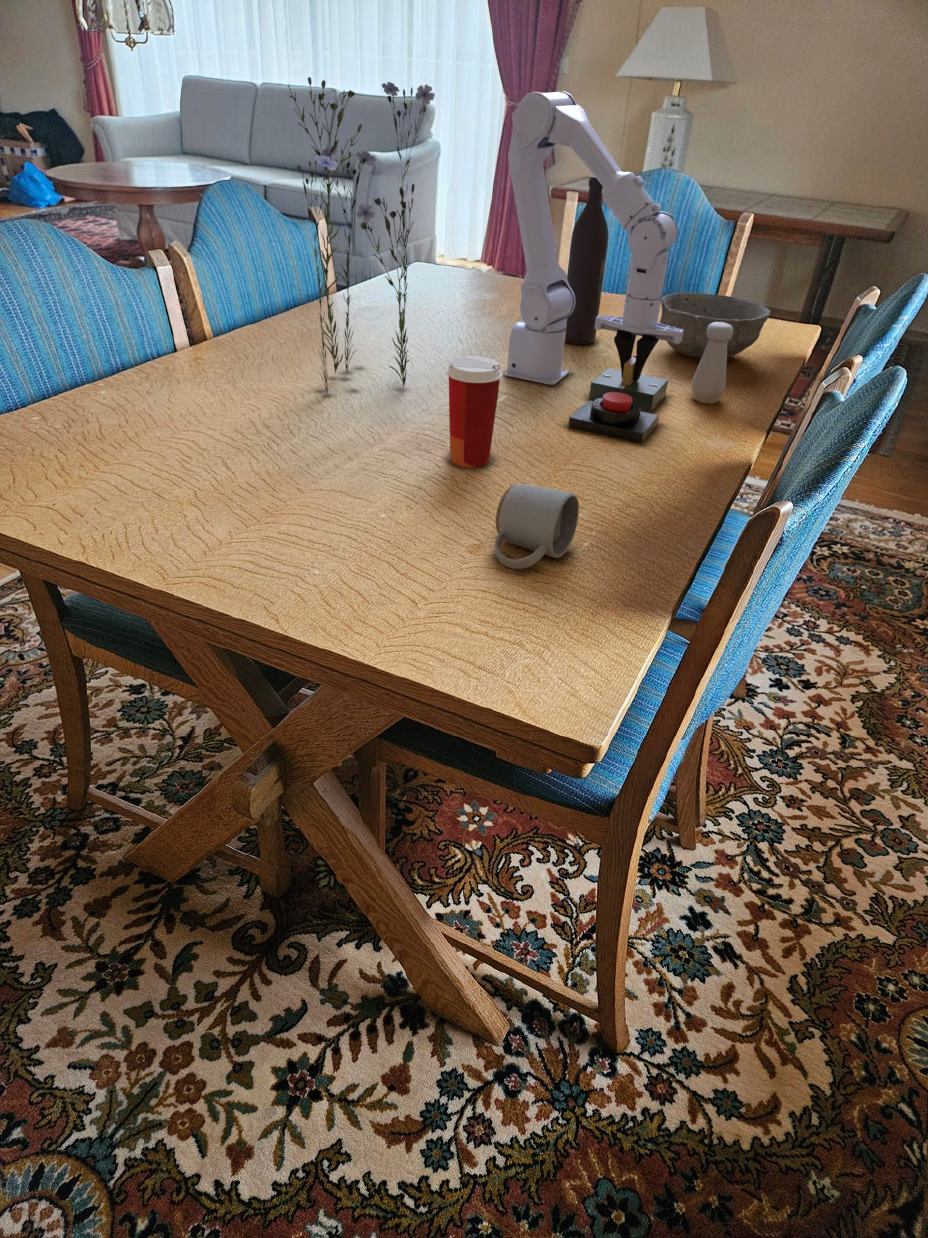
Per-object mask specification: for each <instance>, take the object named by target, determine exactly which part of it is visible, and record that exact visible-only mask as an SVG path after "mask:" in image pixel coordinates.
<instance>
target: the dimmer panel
mask: <svg viewBox="0 0 928 1238" xmlns="http://www.w3.org/2000/svg"><path fill="white" fill-rule="evenodd" d="M668 384H669V380H668V379H665V378H660V377H655V376H650V375H646V374H641V375H640V378H639V379H638V380H637V381H634V382H633V383H632V384H631V385H630V386H627V385H622V378H621V369H616V368H615V369H614V368H610V367H607V368H606V369H605V370H604V371H602V373H600V374H599V375H598V376H596V378H594V379H593V380H592V381H591V382H590V386H589V387H590V388H589V397H588V400H589V401H594V400H595V399H598V398H603V395H604V394H605V393H609V392H619V393H624V394H627V395H629V396H631V397H632V401H633V402H635V403H638V404H639V406H640V407H641V411H642V412H646V413H652V411H654V409H656V407H657V406H659V404H660V403H661V402H662V400H664V399H665V397H666V394H667V389H668Z"/></svg>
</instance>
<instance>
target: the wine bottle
mask: <svg viewBox="0 0 928 1238" xmlns="http://www.w3.org/2000/svg"><path fill="white" fill-rule="evenodd" d="M587 184H588V193H587V195H588V196H587V198H586V204H585V206H584V208H583V209H582V211H581V213H580V214H579V216H578V218H577V220H576V222H575V223H574V226H573V229H572V232H571V239H570V245H569V246H570V247H569V256H568V265H567V273H566V274H567V280H568V283H569V286H570V287H571V289H572V290H573V292H574V295H575V308H574V310H573V312H572V313H571V314H570V316H568V317H567V326H566V334H565V343H566V344H571V345H578V346H586V345H590V344H593V343H595V340H596V335H597V330H598V329H594V328H595V321H596V317H597V316H599V315H600V307H601V306H600V305H601V298H602V291H603V285H604V276H605V268H606V262H607V261H606V260H607V253H608V245H609V227H608V222H607V219H606V217H605V213H604V209H603V206H602V200H603V186H602V184H601V183H600V182H599V181H598V180H597V178H596V177H595V176H594V175H590V178H588V183H587Z"/></svg>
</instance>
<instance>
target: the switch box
mask: <svg viewBox="0 0 928 1238" xmlns="http://www.w3.org/2000/svg"><path fill="white" fill-rule="evenodd" d="M602 399H603V398H598V399H595V400H587V401H586V402H585V403H584V404H583V405H581V407H580V408H578V409H577V410H576V411H575V412H574V413H573V414H571V416H570V417H569V418H568V419H569V420H568V428H569V429H574V430H579V431H583V432H587V433H591V434H596V435H601V436H605V437H609V438H614V439H619V440H623V441H627V442H632V443H637V444H643V442H644V441H645V440H646V439H647V438H648V437H649V435H650V434H651V433H652V432H653V431H654V429H656V427H657V426H658V423H659V417H660V415H659V414H656V413H652V412H647V411H642V410H641V407H640V406H639V404H638V403H635V402H633V401H632V405H631V410H629V411H612V410H607V409H605V408H603V407H602Z"/></svg>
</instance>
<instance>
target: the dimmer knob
mask: <svg viewBox="0 0 928 1238" xmlns="http://www.w3.org/2000/svg"><path fill="white" fill-rule="evenodd" d="M635 362H636V353H635V354H632V357H631V358H630V359H629V360H628V361H627V362H626V363H625V365H624V371H623V378H622V385H627V386H630V385H631V384H632V383H633V382H634V381H633V373H634V367H635Z"/></svg>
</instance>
